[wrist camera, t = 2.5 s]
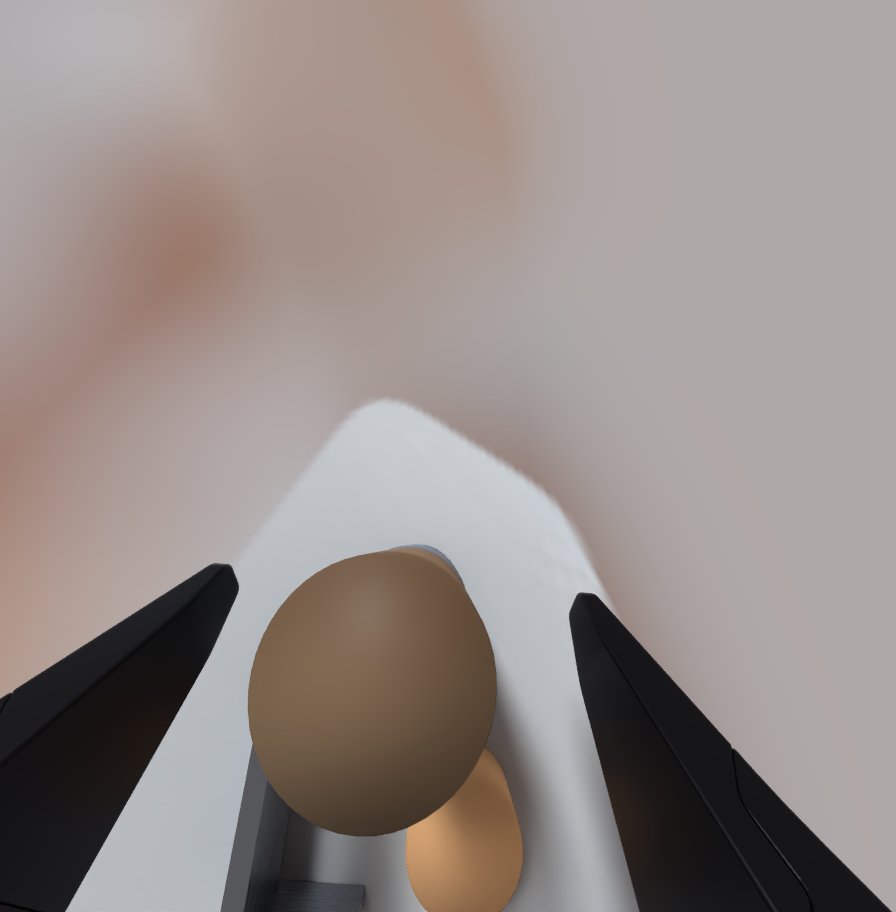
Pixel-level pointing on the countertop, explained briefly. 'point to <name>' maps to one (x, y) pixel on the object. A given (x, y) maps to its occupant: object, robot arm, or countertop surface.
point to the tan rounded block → (468, 846)
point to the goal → (273, 860)
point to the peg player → (373, 692)
